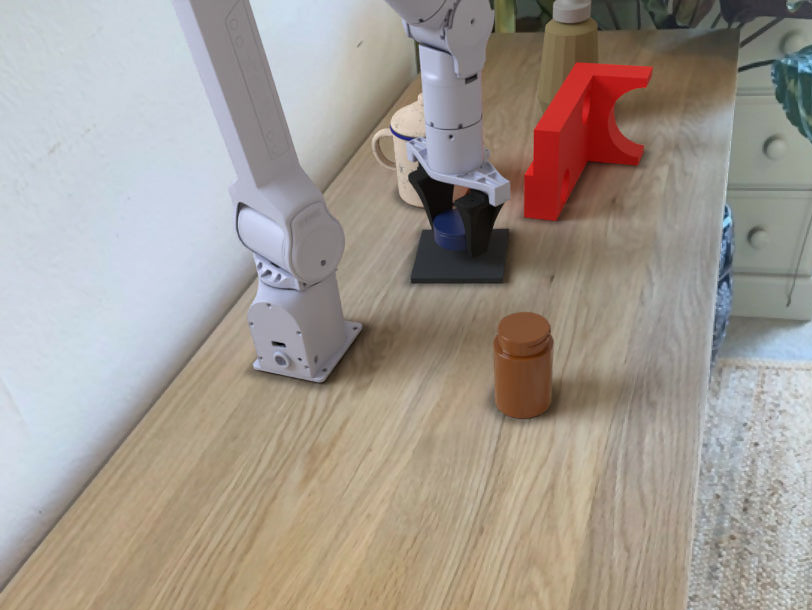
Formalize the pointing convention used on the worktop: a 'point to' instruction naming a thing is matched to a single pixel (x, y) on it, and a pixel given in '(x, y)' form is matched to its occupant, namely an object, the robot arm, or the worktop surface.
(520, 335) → the jar
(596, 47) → the squeeze bottle
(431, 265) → the coaster
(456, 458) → the worktop surface
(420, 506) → the worktop surface
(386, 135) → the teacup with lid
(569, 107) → the bracket
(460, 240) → the jar lid
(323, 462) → the worktop surface
